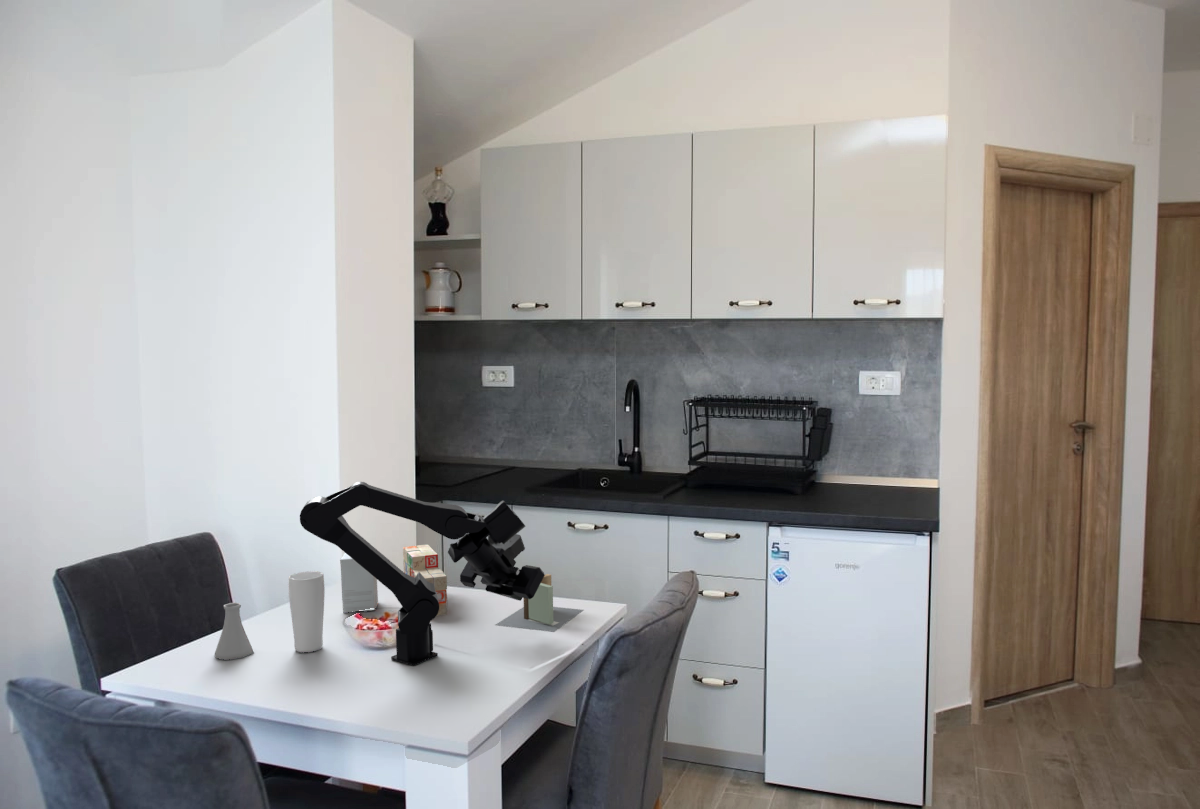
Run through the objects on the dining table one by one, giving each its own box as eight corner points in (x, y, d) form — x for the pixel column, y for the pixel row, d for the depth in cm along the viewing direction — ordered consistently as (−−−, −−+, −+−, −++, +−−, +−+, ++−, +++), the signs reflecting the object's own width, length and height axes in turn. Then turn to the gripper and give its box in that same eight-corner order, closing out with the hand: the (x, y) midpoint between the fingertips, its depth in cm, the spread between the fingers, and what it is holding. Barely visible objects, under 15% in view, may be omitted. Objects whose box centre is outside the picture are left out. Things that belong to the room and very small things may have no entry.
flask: (208, 655, 167) (205, 605, 167) (244, 645, 172) (242, 597, 172) (223, 663, 162) (221, 612, 162) (260, 653, 167) (258, 604, 167)
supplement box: (378, 602, 201) (377, 549, 201) (374, 611, 194) (373, 557, 193) (346, 604, 200) (344, 551, 200) (341, 613, 193) (339, 558, 192)
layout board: (554, 633, 176) (554, 631, 176) (494, 626, 181) (494, 624, 181) (583, 611, 191) (583, 609, 191) (528, 605, 196) (528, 603, 196)
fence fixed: (528, 619, 185) (527, 581, 184) (522, 618, 186) (521, 580, 185) (552, 609, 192) (551, 573, 191) (547, 608, 193) (546, 572, 192)
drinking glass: (298, 657, 165) (295, 581, 164) (285, 648, 170) (282, 575, 169) (332, 649, 169) (329, 575, 168) (318, 640, 174) (315, 569, 173)
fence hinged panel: (528, 617, 185) (527, 581, 184) (532, 616, 185) (532, 580, 185) (549, 624, 180) (548, 587, 179) (553, 623, 181) (552, 586, 180)
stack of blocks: (448, 616, 190) (446, 562, 189) (419, 620, 187) (418, 565, 187) (429, 592, 210) (428, 543, 209) (404, 595, 207) (402, 545, 206)
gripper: (537, 528, 166) (572, 571, 175) (468, 518, 176) (504, 560, 186) (511, 576, 160) (549, 619, 169) (441, 563, 170) (480, 604, 180)
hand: (520, 598), depth 176 cm, fingers closed
